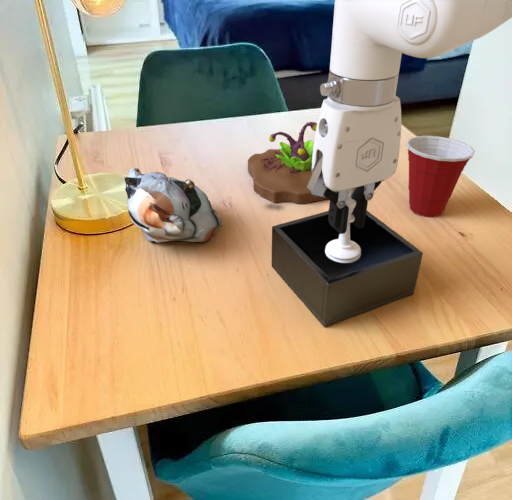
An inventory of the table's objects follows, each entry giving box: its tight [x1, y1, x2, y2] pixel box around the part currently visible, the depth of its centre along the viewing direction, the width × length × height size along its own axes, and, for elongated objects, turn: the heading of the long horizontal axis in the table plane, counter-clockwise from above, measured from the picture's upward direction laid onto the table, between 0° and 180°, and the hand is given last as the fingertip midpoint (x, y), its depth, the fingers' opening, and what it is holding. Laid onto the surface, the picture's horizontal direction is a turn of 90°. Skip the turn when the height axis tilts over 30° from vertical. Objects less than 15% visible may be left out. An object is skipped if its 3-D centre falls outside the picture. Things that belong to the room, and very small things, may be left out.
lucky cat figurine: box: [124, 167, 223, 244], centre depth 79 cm, size 15×12×14 cm
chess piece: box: [325, 188, 361, 263], centre depth 67 cm, size 5×5×10 cm
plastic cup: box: [405, 135, 476, 218], centre depth 86 cm, size 11×11×12 cm
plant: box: [247, 121, 337, 205], centre depth 95 cm, size 20×20×11 cm
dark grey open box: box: [271, 210, 424, 328], centre depth 71 cm, size 15×15×7 cm
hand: (346, 225), depth 67 cm, fingers closed on chess piece
